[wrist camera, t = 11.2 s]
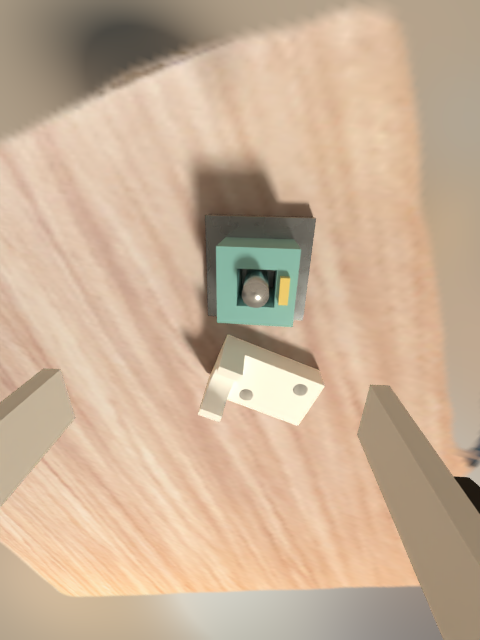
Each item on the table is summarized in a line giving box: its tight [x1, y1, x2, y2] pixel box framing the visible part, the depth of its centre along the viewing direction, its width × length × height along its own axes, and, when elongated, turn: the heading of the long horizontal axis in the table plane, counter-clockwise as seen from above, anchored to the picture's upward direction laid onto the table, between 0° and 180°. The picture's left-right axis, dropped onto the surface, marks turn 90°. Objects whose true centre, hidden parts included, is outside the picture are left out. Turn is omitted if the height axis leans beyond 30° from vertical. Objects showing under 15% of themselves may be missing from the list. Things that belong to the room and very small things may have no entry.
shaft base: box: [205, 214, 316, 320], centre depth 26 cm, size 11×11×10 cm
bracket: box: [198, 334, 325, 426], centre depth 33 cm, size 13×7×8 cm, turn 68°
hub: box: [216, 237, 301, 327], centre depth 26 cm, size 7×7×7 cm
